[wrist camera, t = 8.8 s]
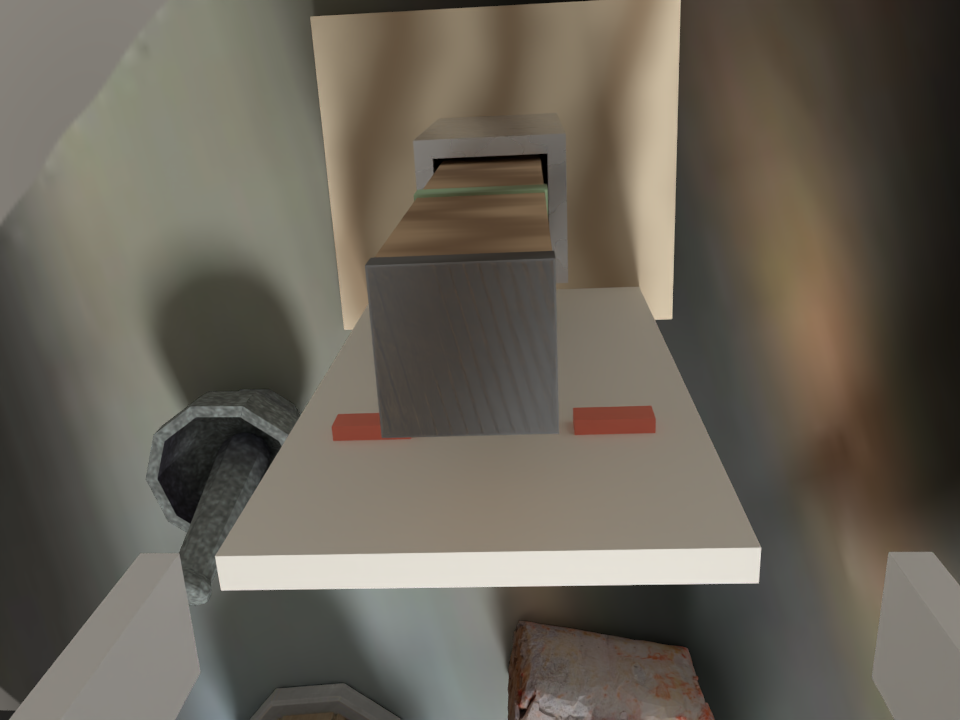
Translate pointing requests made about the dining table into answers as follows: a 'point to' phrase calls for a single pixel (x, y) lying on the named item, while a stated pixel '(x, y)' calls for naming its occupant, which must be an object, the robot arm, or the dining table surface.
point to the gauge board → (503, 481)
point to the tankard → (320, 705)
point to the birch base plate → (510, 91)
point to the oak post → (468, 305)
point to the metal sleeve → (502, 140)
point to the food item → (599, 677)
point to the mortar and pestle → (214, 470)
